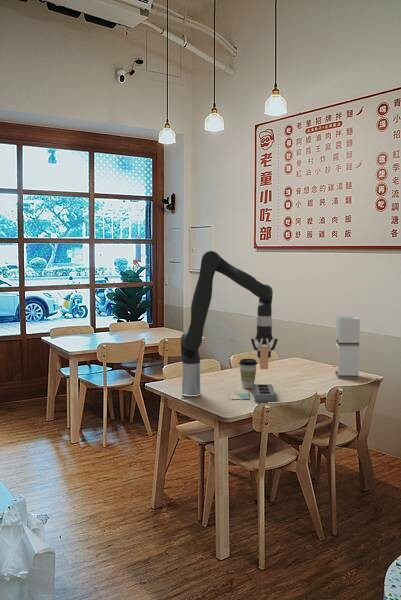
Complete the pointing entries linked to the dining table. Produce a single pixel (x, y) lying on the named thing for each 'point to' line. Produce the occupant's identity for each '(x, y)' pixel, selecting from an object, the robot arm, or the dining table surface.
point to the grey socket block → (264, 393)
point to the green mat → (243, 395)
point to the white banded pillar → (347, 346)
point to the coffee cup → (248, 372)
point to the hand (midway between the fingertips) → (263, 358)
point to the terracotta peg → (263, 357)
